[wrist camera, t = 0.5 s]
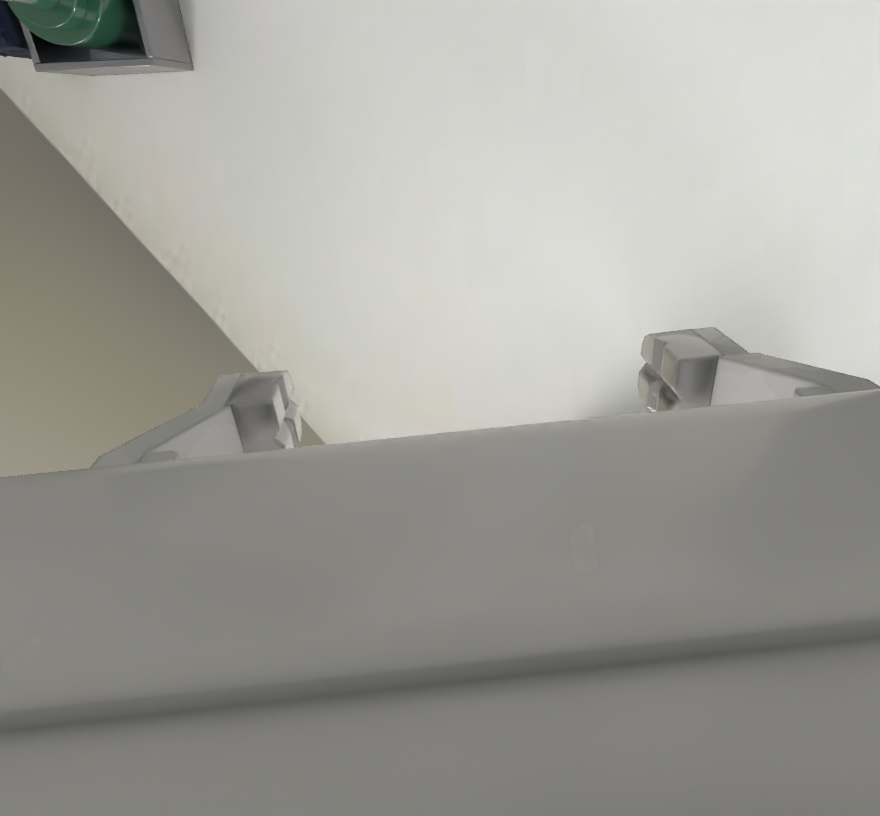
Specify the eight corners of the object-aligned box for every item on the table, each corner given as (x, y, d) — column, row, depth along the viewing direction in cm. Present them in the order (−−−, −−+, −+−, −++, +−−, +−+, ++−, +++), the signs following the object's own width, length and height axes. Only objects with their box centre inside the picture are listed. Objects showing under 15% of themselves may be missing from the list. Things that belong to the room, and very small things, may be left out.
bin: (55, -51, 43) (-16, -82, 36) (166, -56, 44) (117, -88, 36) (93, 75, 47) (35, 71, 40) (194, 70, 48) (155, 65, 40)
